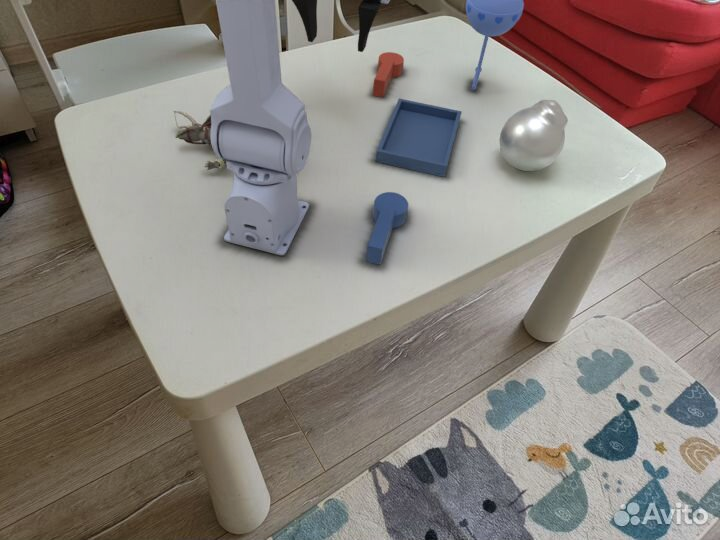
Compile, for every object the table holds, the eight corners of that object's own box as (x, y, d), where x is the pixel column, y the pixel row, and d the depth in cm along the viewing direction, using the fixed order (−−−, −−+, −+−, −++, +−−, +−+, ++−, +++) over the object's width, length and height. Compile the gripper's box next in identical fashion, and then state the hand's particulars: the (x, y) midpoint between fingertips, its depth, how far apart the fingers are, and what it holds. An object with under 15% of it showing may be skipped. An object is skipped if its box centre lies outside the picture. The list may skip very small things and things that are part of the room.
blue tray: (444, 177, 74) (446, 166, 73) (375, 161, 75) (376, 150, 74) (459, 122, 83) (461, 111, 81) (397, 109, 84) (398, 98, 83)
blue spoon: (390, 267, 63) (393, 251, 60) (355, 259, 63) (357, 242, 61) (409, 209, 69) (412, 192, 67) (377, 202, 70) (379, 185, 68)
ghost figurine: (565, 182, 75) (593, 123, 67) (503, 185, 74) (524, 125, 66) (543, 143, 81) (566, 85, 73) (484, 146, 79) (502, 86, 72)
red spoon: (390, 99, 86) (392, 82, 84) (365, 93, 87) (366, 77, 84) (404, 67, 93) (406, 51, 90) (380, 62, 93) (382, 46, 91)
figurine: (146, 137, 68) (186, 71, 78) (159, 174, 72) (196, 107, 83) (297, 145, 66) (317, 77, 77) (301, 182, 71) (319, 113, 82)
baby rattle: (494, 106, 86) (527, -6, 72) (444, 95, 88) (467, -18, 74) (501, 81, 92) (534, -29, 78) (454, 70, 93) (477, -39, 79)
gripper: (401, -62, 68) (390, 40, 78) (296, -79, 69) (299, 22, 80) (388, -42, 63) (379, 63, 74) (276, -62, 65) (283, 43, 75)
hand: (336, 43), depth 76 cm, fingers open, 7 cm apart
